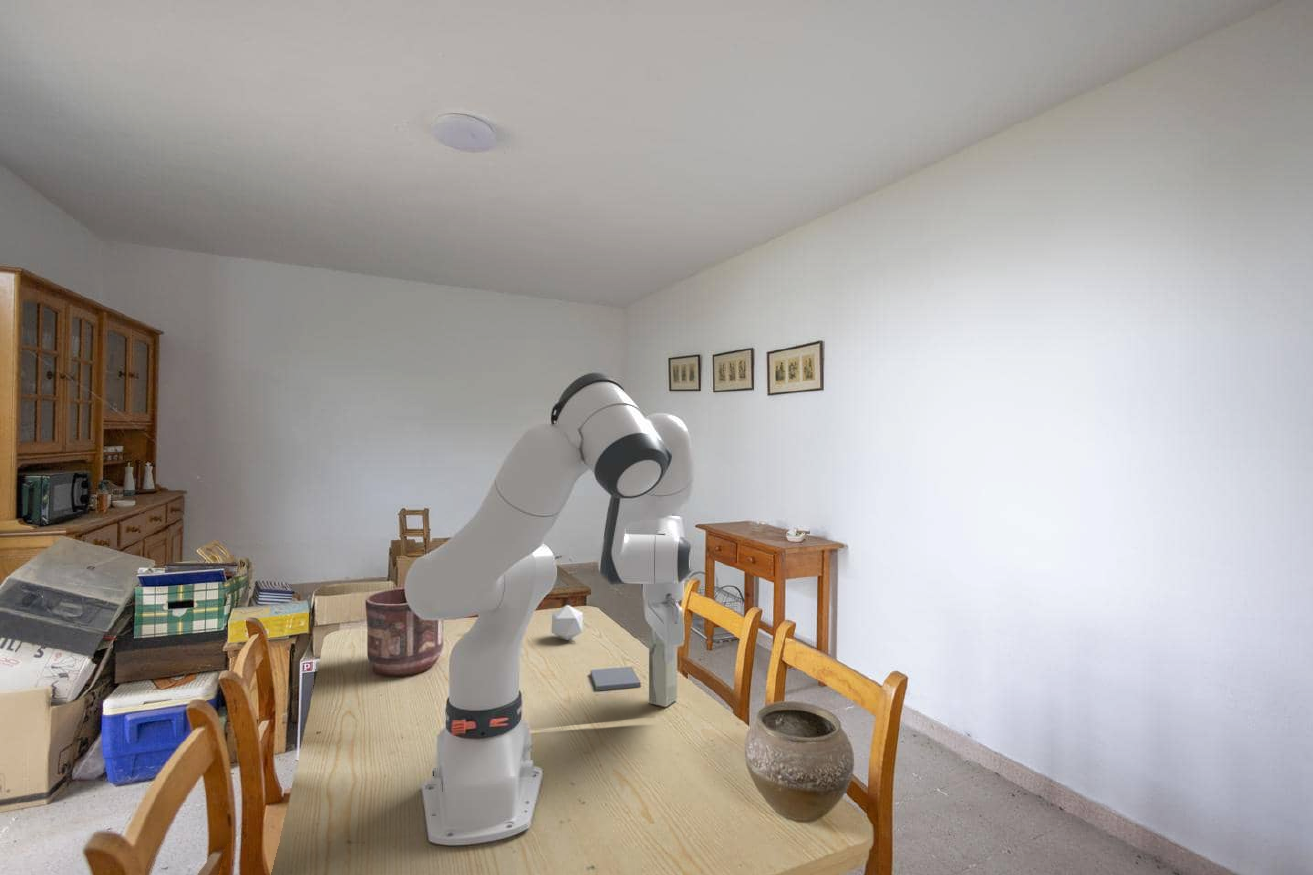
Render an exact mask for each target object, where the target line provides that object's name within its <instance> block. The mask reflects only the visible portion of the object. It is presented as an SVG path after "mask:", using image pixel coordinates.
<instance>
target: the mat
mask: <svg viewBox="0 0 1313 875" xmlns="http://www.w3.org/2000/svg"><path fill="white" fill-rule="evenodd" d="M590 676H591V679H592V683H593V685H594V688H595V690H596V692H599V691H600V692H601V691H610V690H611V691H612V690H622V689H623V690H624V689H634V688H641V681H640V680H641V679H639V677H638V675H637V673H636V672H635V670H634V668H633V667H632V666H624V667H613V668H610V667H609V668H599V669H590Z"/></svg>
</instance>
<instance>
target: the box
mask: <svg viewBox="0 0 1313 875" xmlns="http://www.w3.org/2000/svg"><path fill="white" fill-rule="evenodd" d="M664 646H665V645H664V642H663V641H662V639H661V638H660V637H659V638H658V639H656V640H654V639H653V640H652V641H650V642H649V643H648V661H649V662H648V702H649V704H652V705H656V706H658V707H659V706H660V707H663V708H666V707H669V705H671V704H672V703H674V702H675V701H677V700H678V647H675V649H674V652H673V661H672V662H665V660H664V659H663V651H664Z"/></svg>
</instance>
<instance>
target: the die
mask: <svg viewBox="0 0 1313 875" xmlns="http://www.w3.org/2000/svg"><path fill="white" fill-rule="evenodd" d="M551 615H552V617H551V634H553V635H555V636H557V637H559V638H561V639H563V640H565V641H569V640H571V639H573V638H575V637H577V636H579V635H580V634H582V633H583V625H584V624H583V622H584V612H582V611H580V610H578V609H576V608H574V607H572V606H570V605H569V604H566V605H565V606H563V607H561V608H559V609H558V610H556V611H554V612H552V614H551Z"/></svg>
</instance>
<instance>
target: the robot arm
mask: <svg viewBox="0 0 1313 875" xmlns="http://www.w3.org/2000/svg"><path fill="white" fill-rule="evenodd" d="M550 413H551V414H550V423H540V424H536V425H533V426H531V427H530V428H529V429H527V430H526V431H525V432H524V433H523V435H521V437H519V439H518V440H517V441H516V443H515V445H514V446H513V447H512V448H511V450H510V452H509V453H508V455H507V456H506V458H505V460H504V461H503V462H502V464H501V466H500V469H499V470H498V471H497V474H496V476H495V479H494V480H493V483H492V484H491V487H490V488H489V491H488V492H487V495H486V496H485V498H484V500H483V501H482V503H481V504H480V507H479V509H478V510H477V512H476V513H474V515H473V517H472V518H471V519H470V520H469V521H468V522H467V523H466V524H465V525H464V526H463V527H461V528H460V529H459V530H458V531H457V532H456V533H455V534H454V535H453V536H452V537H450V538H449V539H448V540H447V541H445V542H444V543H442V544H441V545H439V547H437V548H435V549H433V550H431V551H430V552H428V553H426V554H424V555H422V556H419V557H418V558H416V559H415V560H414V562H413V563H412V565H411V566H410V567H409V569H408V570H407V574H406V576H405V579H404V588H405V597H406V600H407V603H408V605H409V607H410V608H411V610H412V611H413V612H414V613H415V614H416V615H417V616H418V617H419V618H421V619H423V620H444V621H454V620H455V621H456V620H459V619H465V618H469V617H472V616H477V618H476V620H475V622H474V623H473V625H472V626H471V627H470V629H469V630H468V631H467V632H466V633H465V634H464V635H462V637H460V639H458V641H456V643H455V644H454V646H453V647H452V650H451V652H450V656H449V666H448V667H449V669H448V671H449V672H448V675H449V676H448V697H447V699H446V701H445V702H446V703H445V708H444V709H445V711H444V717H445V726H444V728H443V729H442V730H441V731H440V732H439V733H437V735H436V756H435V757H436V761H435V763H436V765H435V766H436V768H433V770H432V777H431V778H429V779H426V780H425V781H424V782H422V788H421V795H422V801H423V809H424V815H425V816H424V817H425V822H426V823H425V824H426V832H427V837H428V841H429V842H430V843H433V844H435V845H436V844H437V845H443V846H466V845H473V844H481V843H487V842H493V841H499V840H502V839H505V838H509V837H511V836H514V835H515V836H516V835H517V834H519V833H522V832H524V831H525V830H528V828H529V827H530V825H531V824H532V821H533V820H532V819H533V815H534V811H535V807H536V805H537V804H536V803H537V800H538V796H539V792H540V787H541V784H542V780H543V769H542V768H541V767H539V766H536V765H535V763H534V760H532V759H531V751H533V741H531V725H530V724H529V723H527V722H526V721H524V719H523V718H522V716H523V698H522V697H523V696H522V691H521V690H520V674H521V673H520V672H521V657H522V656H521V655H522V654H521V653H522V647H523V641H524V638H525V635H526V632H527V629H528V627H529V624H530V621H531V619H532V617H533V615H534V613H535V611H536V609H537V608H538V606H539V605H540V603H541V602H542V601H543V600H544V598H545V597H546V596H547V595H548V594H549V593H551V591H552V589H553V588H554V587H555V586H554V585H555V584H556V581H557V576H558V575H557V574H558V565H557V562H556V558H555V556H554V554H553V552H552V549H550V548H549V547H548V545H547V544H545V542H546V540H547V538H548V536H549V535H550V533H551V530H552V529H553V527H554V526H555V523H556V521H557V520H558V518H559V517H560V516H561V513H562V512H563V509H564V507H565V505H566V504H567V502H568V500H569V497H570V495H571V494H572V491H573V489H574V486H575V484H576V482H577V481H578V480H579V479H580V478H581V477H582V476H583V475H584V474H585V473H586V472H588V471H589V470H590V471H591V472H592V473H593V475H594V478H595V481H596V483H597V484H599V485H600V487H601V488H602V489H603V490H604V491H605V492H607V493H608V494H609V495H610V498H609V504H608V507H607V513H606V521H605V526H604V531H603V540H602V542H601V544H600V547H599V550H598V556H597V566H598V571H599V575H600V576H601V577H602V578H603V579H604V580H605V582H607V583H608V584H610V585H611V586H615V585H627V584H639V585H640V589H641V591H642V598H643V609H644V610H643V612H644V618H645V621H646V622H647V623H648V625H649V626H650V628H651V629H652V630H651V632H652V636H653V641H654V640H656V639H658V638H659V637H660V638H661V639H662V641H663V642H664V645H665V646H664V651H663V659H664V660H665V662H672V661H673V652H674V649H675V647H677V648H678V647H683V645H684V643H685V638H686V637H685V636H686V635H685V616H684V611H683V607H681V605H680V604H679V602H680V601H682V600H684V599H685V579H686V578H687V577H688V576H689V575H690V574H691V573H692V564H691V548H692V546H693V545H692V544H691V543H690V542H689V541H688V540H686V539H685V532H684V523H683V518H682V516H680V515H678V514H676V513H677V512H680V510H681V509H683V508H684V507H685V505H686V504H687V503H688V501H689V500H690V497H691V493H692V491H693V485H694V477H695V463H694V459H695V458H694V450H693V444H692V440H691V436H690V432H689V429H688V427H687V426H686V424H685V423H684V422H683V420H681V419H680V418H679V417H677V416H676V415H673V414H671V413H666V412H657V413H652V414H651V413H650V414H649V415H647V416H644V413H643V412H642V410H641V409H640V408H639V407H638V405H637V404H636V403H635V402H634V400H633V399H632V398H631V397H630V396H629V394H627V393H626V391H625V389H624V388H623V386H622V385H621V384H620V383H618V382H617V381H616V380H615V379H613V377H610V376H609V375H607V374H604V373H601V372H590V373H586V374H584V375H581V376H580V377H578V378H577V379H575V380H573V381H572V383H571V384H569V385H568V387H566V388H565V389H564V391H563V392H562V394H561V396H560V397H559V399H558V402H557V403H555V404H554V405H553V407H552V409H551V412H550ZM641 522H645V528H644V534H638V533H637V534H634V533H632V534H631V533H626V532H627V528H628V527H629V526H632V525H635V524H637V523H641Z"/></svg>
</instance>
